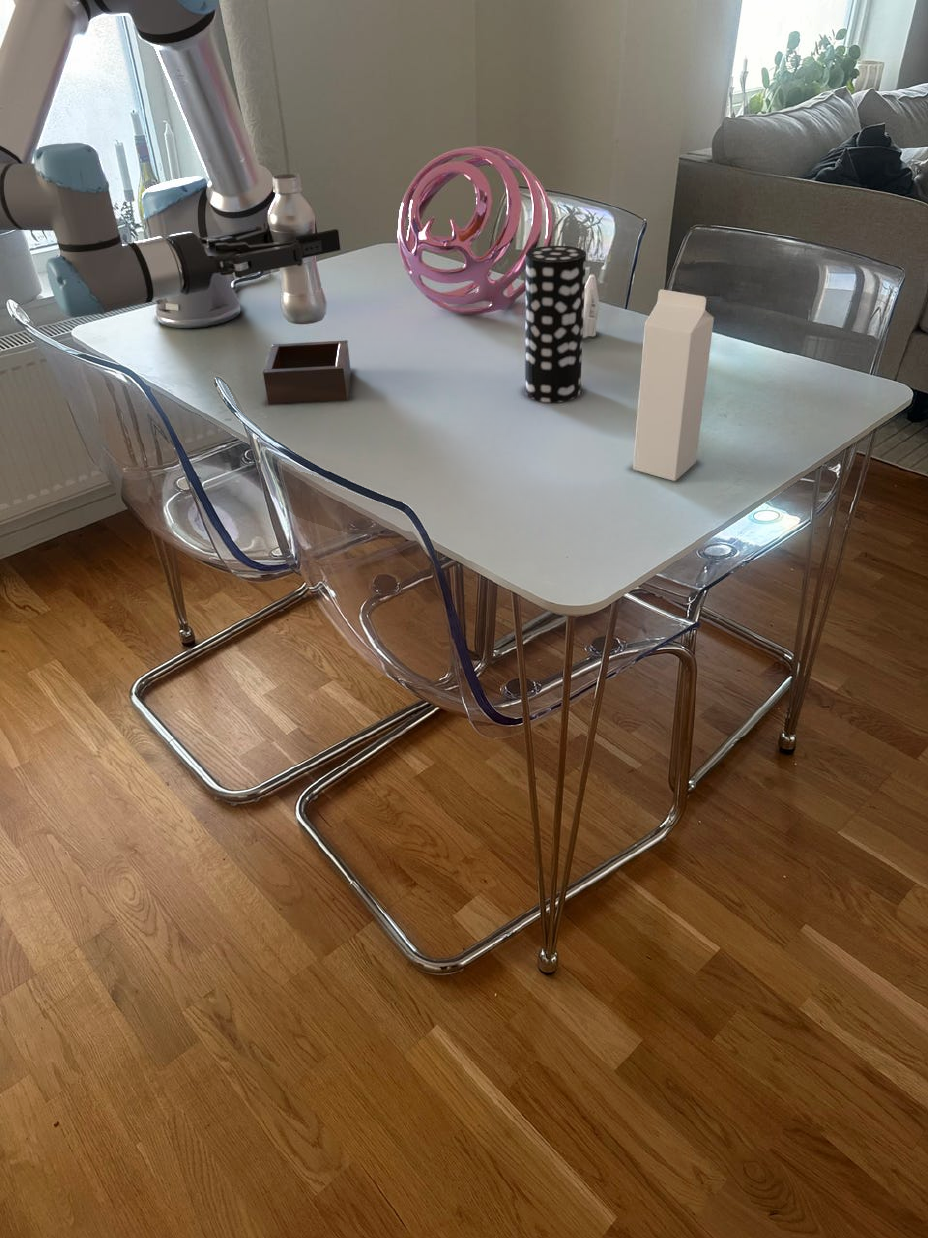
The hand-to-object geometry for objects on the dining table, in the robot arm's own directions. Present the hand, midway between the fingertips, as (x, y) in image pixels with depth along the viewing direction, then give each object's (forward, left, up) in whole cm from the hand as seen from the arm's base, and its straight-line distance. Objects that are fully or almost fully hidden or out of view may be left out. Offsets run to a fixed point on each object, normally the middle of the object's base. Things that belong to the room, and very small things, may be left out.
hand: (326, 234), depth 132 cm
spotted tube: (+9, +32, -22) cm, 40 cm away
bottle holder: (+2, -5, -22) cm, 22 cm away
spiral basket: (-32, +22, -22) cm, 44 cm away
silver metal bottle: (+3, -4, -12) cm, 13 cm away
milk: (+35, +43, -22) cm, 60 cm away
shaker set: (-12, +38, -22) cm, 45 cm away
